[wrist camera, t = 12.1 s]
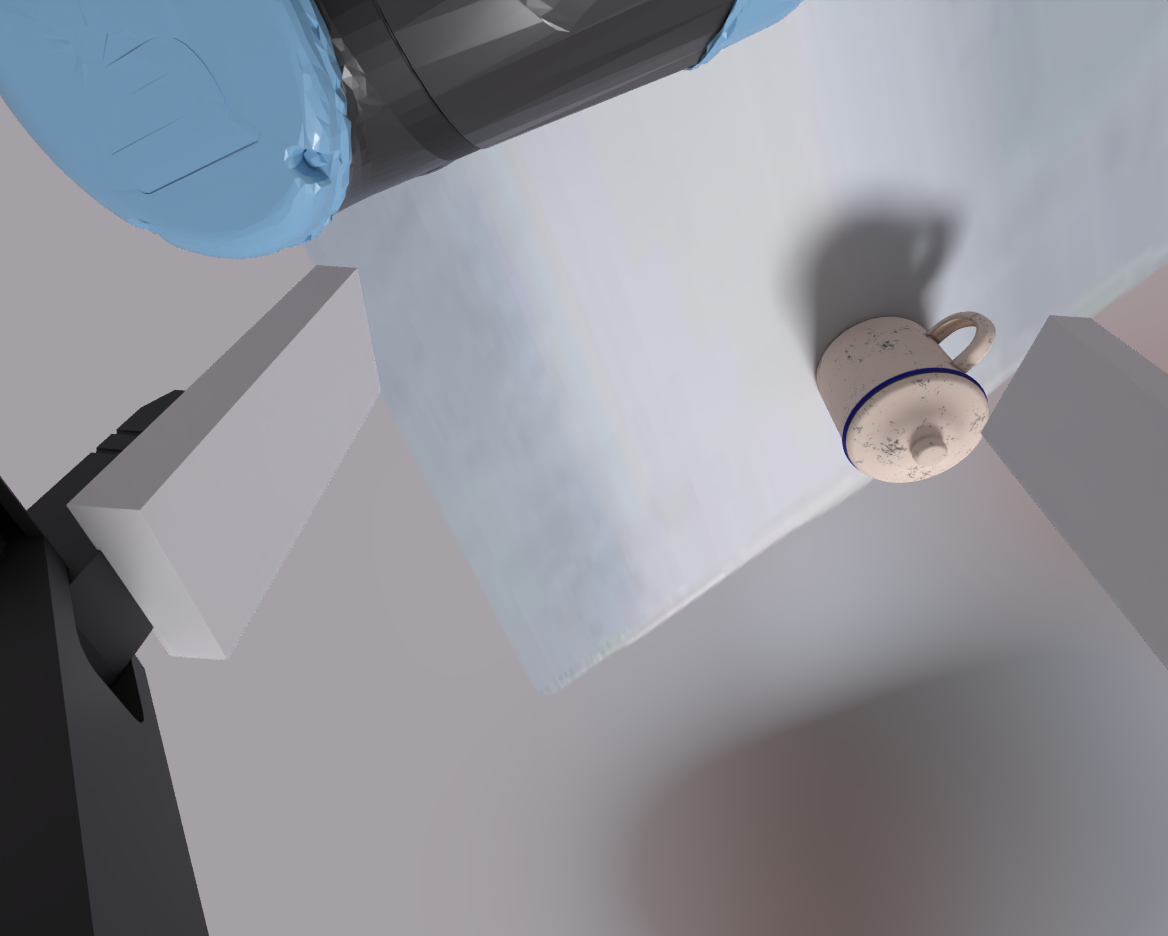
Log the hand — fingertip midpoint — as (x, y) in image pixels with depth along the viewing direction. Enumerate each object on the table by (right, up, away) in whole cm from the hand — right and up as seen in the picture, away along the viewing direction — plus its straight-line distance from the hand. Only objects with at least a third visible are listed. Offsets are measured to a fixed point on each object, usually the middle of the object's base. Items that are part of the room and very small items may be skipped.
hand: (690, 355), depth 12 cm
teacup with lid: (+21, +7, +34) cm, 41 cm away
